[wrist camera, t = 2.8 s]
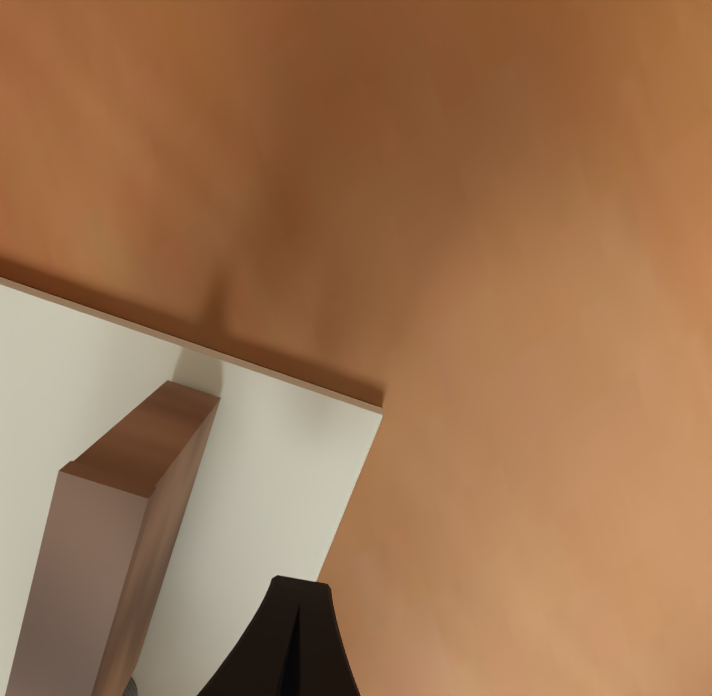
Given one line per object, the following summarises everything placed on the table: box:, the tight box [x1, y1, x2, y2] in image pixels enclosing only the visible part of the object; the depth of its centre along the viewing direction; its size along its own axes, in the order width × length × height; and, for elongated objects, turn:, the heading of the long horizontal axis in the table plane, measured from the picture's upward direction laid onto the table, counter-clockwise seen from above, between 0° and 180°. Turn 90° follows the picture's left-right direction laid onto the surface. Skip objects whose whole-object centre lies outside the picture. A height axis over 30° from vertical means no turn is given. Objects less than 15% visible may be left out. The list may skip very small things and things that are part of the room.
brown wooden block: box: [5, 380, 221, 696], centre depth 13 cm, size 10×2×5 cm, turn 160°
